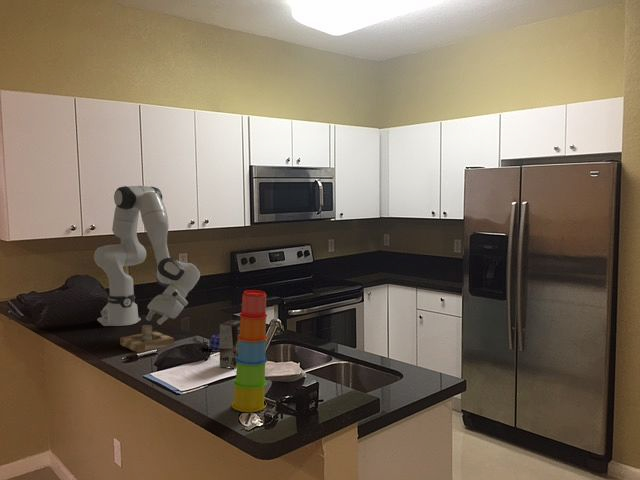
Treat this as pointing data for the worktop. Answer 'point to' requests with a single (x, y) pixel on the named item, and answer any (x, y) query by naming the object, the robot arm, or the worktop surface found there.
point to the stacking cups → (251, 354)
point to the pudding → (214, 342)
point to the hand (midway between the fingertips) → (152, 321)
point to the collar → (139, 346)
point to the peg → (146, 333)
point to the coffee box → (229, 343)
